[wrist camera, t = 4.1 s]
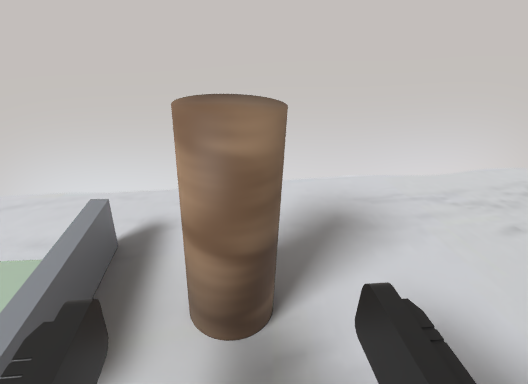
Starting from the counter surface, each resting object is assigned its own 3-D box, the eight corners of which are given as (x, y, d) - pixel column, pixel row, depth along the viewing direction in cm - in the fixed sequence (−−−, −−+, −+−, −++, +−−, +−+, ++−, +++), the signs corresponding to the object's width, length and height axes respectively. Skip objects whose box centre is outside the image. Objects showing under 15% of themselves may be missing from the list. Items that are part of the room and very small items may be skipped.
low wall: (118, 245, 24) (108, 198, 22) (19, 445, 12) (-17, 382, 10) (101, 246, 24) (90, 199, 22) (-15, 449, 12) (-58, 385, 10)
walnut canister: (267, 274, 22) (277, 94, 16) (278, 336, 17) (299, 118, 12) (193, 278, 21) (178, 92, 16) (185, 343, 16) (161, 115, 11)
